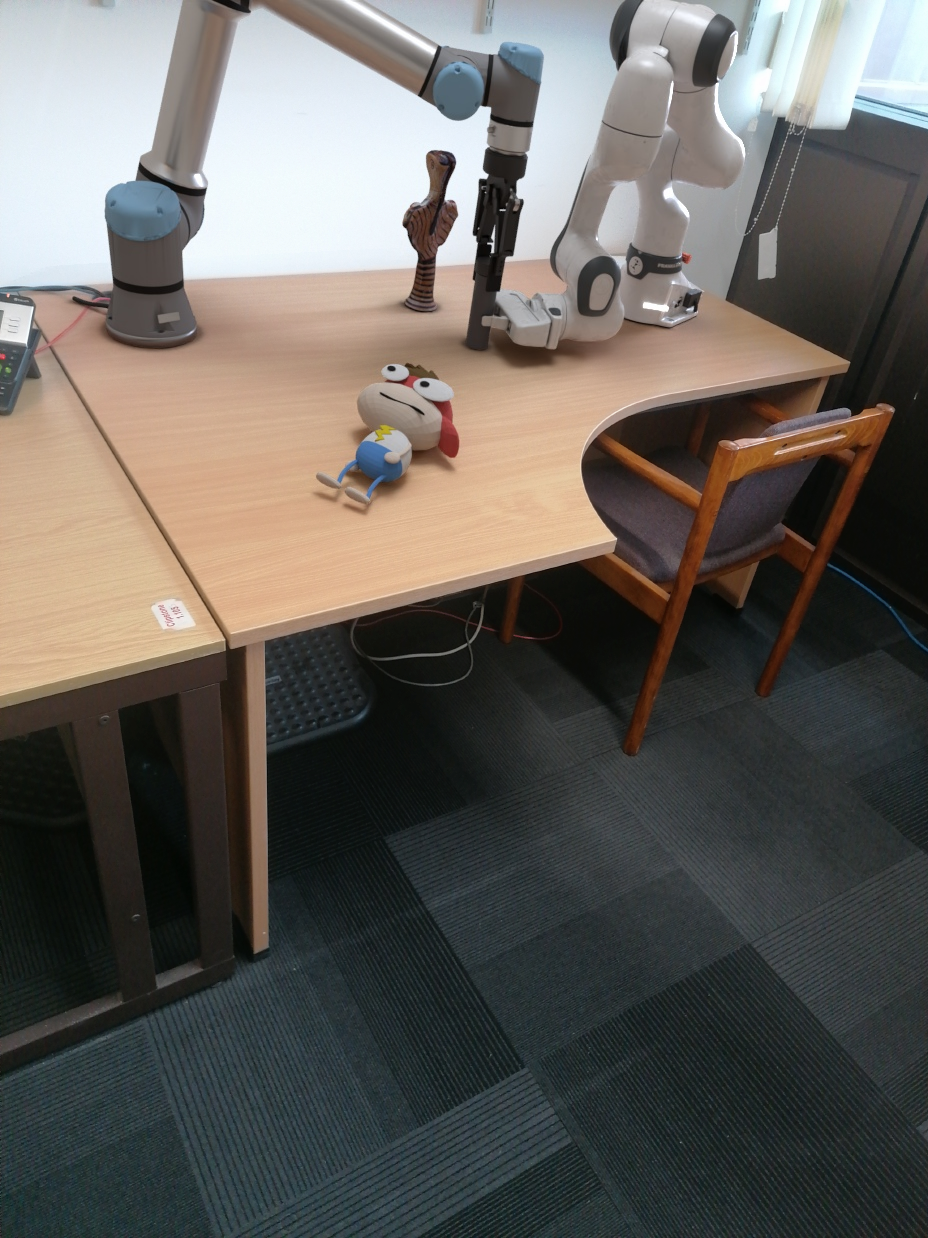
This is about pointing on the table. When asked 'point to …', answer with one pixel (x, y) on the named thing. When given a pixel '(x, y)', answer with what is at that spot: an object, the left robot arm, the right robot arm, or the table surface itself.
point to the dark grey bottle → (480, 305)
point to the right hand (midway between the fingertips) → (477, 313)
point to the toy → (399, 425)
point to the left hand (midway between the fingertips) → (486, 284)
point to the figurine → (430, 227)
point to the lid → (482, 265)
